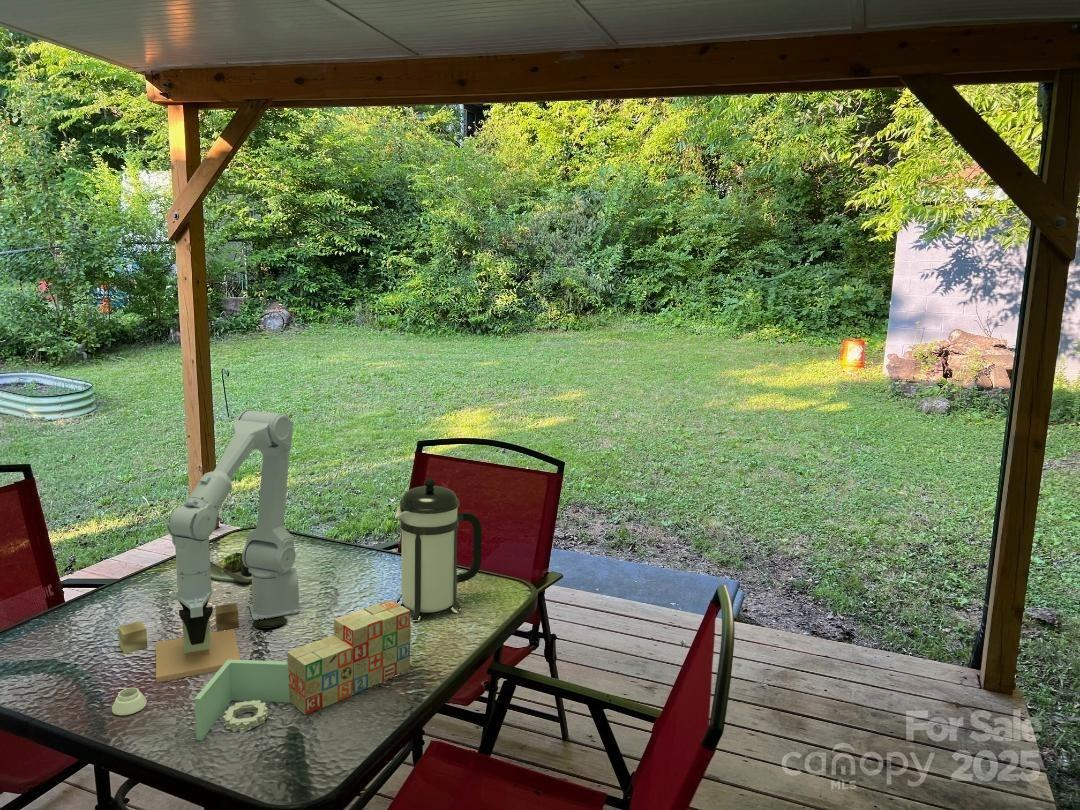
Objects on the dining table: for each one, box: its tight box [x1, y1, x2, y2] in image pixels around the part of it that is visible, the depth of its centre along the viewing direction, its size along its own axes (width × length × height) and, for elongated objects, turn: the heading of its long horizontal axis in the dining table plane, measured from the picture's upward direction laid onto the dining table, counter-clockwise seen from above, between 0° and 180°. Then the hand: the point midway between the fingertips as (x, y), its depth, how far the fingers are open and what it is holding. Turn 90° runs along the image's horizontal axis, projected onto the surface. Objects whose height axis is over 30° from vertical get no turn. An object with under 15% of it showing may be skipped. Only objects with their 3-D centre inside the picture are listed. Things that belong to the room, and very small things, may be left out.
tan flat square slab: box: [155, 629, 241, 683], centre depth 139 cm, size 14×14×1 cm
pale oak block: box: [117, 621, 148, 655], centre depth 141 cm, size 4×4×4 cm
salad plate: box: [210, 551, 252, 585], centre depth 179 cm, size 19×18×5 cm
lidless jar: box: [111, 687, 148, 716], centre depth 122 cm, size 5×3×5 cm
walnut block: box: [215, 602, 240, 632], centre depth 151 cm, size 4×4×4 cm
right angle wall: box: [194, 659, 292, 741], centre depth 119 cm, size 12×12×8 cm
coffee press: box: [394, 477, 483, 620], centre depth 161 cm, size 17×16×30 cm
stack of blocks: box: [286, 600, 412, 716], centre depth 130 cm, size 21×6×12 cm, turn 136°
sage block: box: [181, 619, 211, 653], centre depth 138 cm, size 4×4×6 cm
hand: (196, 637), depth 138 cm, fingers closed on sage block, 4 cm apart
